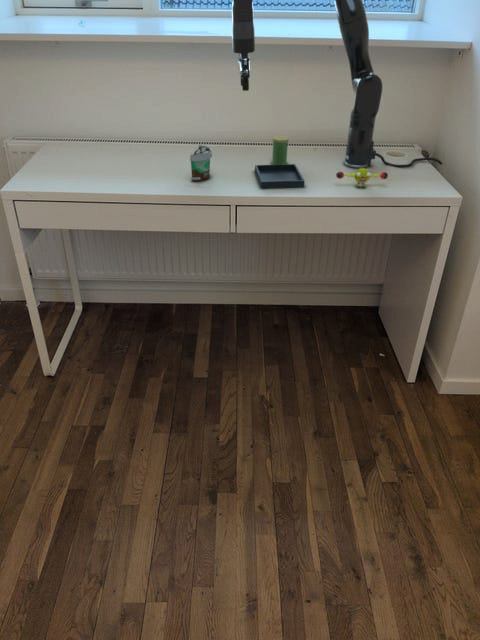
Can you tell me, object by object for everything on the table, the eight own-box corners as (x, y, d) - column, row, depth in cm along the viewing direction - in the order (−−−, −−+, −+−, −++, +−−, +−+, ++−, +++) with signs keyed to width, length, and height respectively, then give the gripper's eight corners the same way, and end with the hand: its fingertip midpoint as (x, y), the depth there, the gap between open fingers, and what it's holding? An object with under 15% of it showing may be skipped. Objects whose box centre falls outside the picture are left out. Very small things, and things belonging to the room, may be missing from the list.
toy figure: (336, 189, 188) (338, 170, 184) (334, 184, 193) (336, 165, 189) (387, 190, 188) (391, 171, 185) (384, 184, 193) (387, 166, 189)
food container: (207, 184, 191) (207, 156, 185) (191, 183, 192) (189, 155, 186) (216, 172, 201) (215, 145, 195) (200, 171, 202) (199, 144, 196)
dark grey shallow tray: (294, 170, 204) (295, 164, 202) (303, 187, 190) (304, 180, 188) (254, 171, 202) (255, 165, 201) (261, 188, 188) (261, 181, 187)
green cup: (285, 161, 212) (286, 135, 207) (287, 166, 208) (289, 139, 202) (270, 161, 212) (271, 135, 206) (273, 166, 207) (274, 140, 201)
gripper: (256, 38, 175) (257, 91, 184) (252, 33, 187) (253, 83, 196) (233, 39, 175) (235, 92, 184) (231, 34, 187) (233, 84, 196)
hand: (244, 88), depth 190 cm, fingers open, 8 cm apart
